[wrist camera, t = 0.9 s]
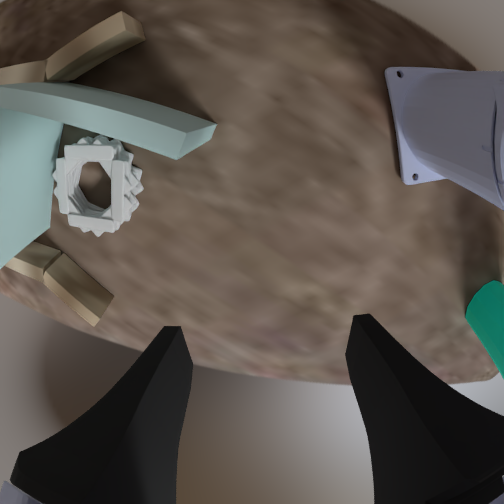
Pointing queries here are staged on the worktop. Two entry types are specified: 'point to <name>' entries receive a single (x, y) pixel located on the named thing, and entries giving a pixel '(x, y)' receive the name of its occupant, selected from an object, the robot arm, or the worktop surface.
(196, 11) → the worktop surface
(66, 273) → the pocket
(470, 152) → the robot arm
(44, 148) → the l-shaped corner panel
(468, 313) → the candle
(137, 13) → the worktop surface
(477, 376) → the worktop surface
